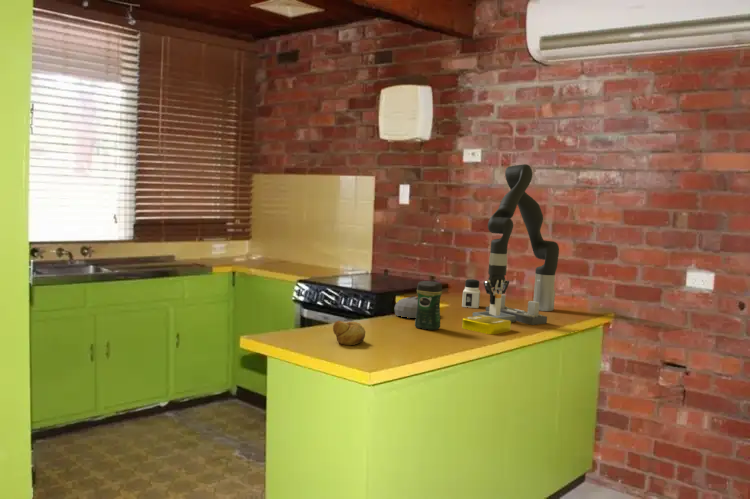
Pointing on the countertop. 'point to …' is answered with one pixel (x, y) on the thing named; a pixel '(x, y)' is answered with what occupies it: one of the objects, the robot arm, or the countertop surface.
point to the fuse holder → (523, 316)
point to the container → (471, 294)
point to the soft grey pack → (407, 307)
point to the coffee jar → (428, 305)
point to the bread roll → (349, 332)
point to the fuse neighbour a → (503, 301)
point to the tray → (501, 316)
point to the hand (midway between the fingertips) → (495, 303)
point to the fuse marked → (496, 305)
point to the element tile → (486, 324)
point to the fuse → (533, 308)
